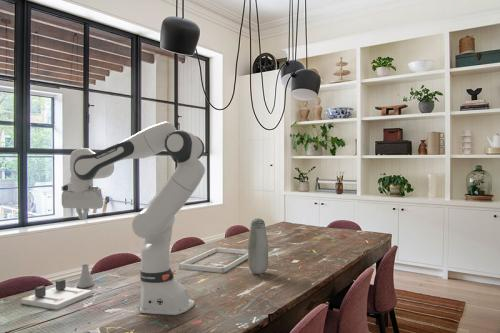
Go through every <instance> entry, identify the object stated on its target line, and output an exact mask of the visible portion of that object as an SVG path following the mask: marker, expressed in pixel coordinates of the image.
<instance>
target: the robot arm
mask: <svg viewBox="0 0 500 333" xmlns="http://www.w3.org/2000/svg"><path fill="white" fill-rule="evenodd" d="M165 150H166V152H167V153H168V155H170V157H171V159H172V160H173V162H175V164H176V163H177V166H176V168H175V170H174V171H173V172H172V174H171V175H170V176H169V178H168V179H167V180H166V182H165V183H164V184H163V186H162V187H161V189H160V190H159V191H158V192H157V193H156V194H155V195H154V196H153V198H151V200H150V201H149V202H148V203H147V204H146V205H145V206H144V207H143V209H141V211H140V212H139V213H138V214H137V215H135V216H134V217H133V220H132V223H131V227H132V231H133V233H134V234H135V235H136V236H137V237H139V238H142V239H144V242H143V245H142V247H141V251H140V253H141V254H140V258H141V259H140V262H141V263H140V264H141V265H140V266H141V268H140V269H141V270H140V276H139V277H140V281H141V285H140V286H141V287H140V295H139V301H138V303H137V308H138V309H139V313H140V314H141V313H142V314H154V315H168V316H170V315H171V316H176V315H180V314H182V313H186V312H188V311H189V310H190V309H192V308H193V307H194V305H195V300H193V299H190V298H189V292H188V290H187V288H186V287H185V286H184V285H183V284H181V283H180V282H179V281H178V280H176V278H175V277H174V276H175V274H176V270H174V271H172V269H171V266H170V265H171V264H170V262H171V261H170V257H171V256H170V251H171V250H170V248H171V247H170V246H171V241H172V234H173V226H174V223H175V219H176V218H175V215H176V214H177V213H179V211H180V210H181V209H182V208H183V207H184V206H185V204H186V203H187V202H188V200H189V199H190V198H191V197H192V195H193V194H194V192H195V191H196V189H197V188H198V186H199V185H200V183H201V181H202V179H203V177H204V175H205V173H206V167H205V165H204V164H203V162H202V161H201V160H200V158H202V157H203V155H204V153H205V143H204V142H203V140H202V139H201V138H200V137H198V136H197V135H195V134H193V133H191V132H188V131H184V130H183V129H181V130H180V129H178V130H177V128H176V127H175V125H174V124H172V123H171V122H169V121H164V122H163V121H162V122H159V123H156V124H154V125H151V126H148V127H146V128H145V129H142V130H141V131H138V132H137V133H135V134H133V135H131V136H130V137H128V138H125V139H124V140H122V141H121V142H118V143H116V144H113V145H112V146H111V145H110V146H108V147H106V148H104V149H102V150H100V151H97V152H94V151H93V150H92V149H90V148H88V147H82V148H76V149H74V150H73V151H71V153H70V157H69V171H70V175H71V176H70V178H69V180H70V182H68V183H66V184H64V185H63V186H61V191H62V192H61V206H62V208H64V209H75V212H76V213H77V215H78V219H79V220H86V219H87V218H88V214H89V211H90V210H98V209H102V208H103V206H104V198H103V193H102V189H101V188H100V187H99V186H94V180H96V179H106V178H108V177H111V176H112V174H113V173H114V170H115V163H117V162H120V161H124V160H130V159H132V160H134V159H135V160H138V159H146V158H149V157H150V158H151V157H152V156H155V155H157V154H159V153H161V152H163V151H165Z"/></svg>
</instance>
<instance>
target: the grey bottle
mask: <svg viewBox="0 0 500 333" xmlns="http://www.w3.org/2000/svg"><path fill="white" fill-rule="evenodd" d="M249 227H250V229H249V234H248V239H247V250H248V259H247V261H248V268H249V271H251V273H252V274H255V275H262V274H264V273H266V272H267V271H268V267H269V239H268V235H267V231H266V230H267V229H266V223H265V221H264V219H261V218H260V217H259V218H254V219H253V220H252V221H251V223H250V226H249Z"/></svg>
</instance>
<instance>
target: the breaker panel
mask: <svg viewBox="0 0 500 333" xmlns="http://www.w3.org/2000/svg"><path fill="white" fill-rule="evenodd" d="M91 296H93V290H90V289H84V288H79V287H70V286H66V288H65V289H62V290H56V286H55V287H51V288H48V289H46V296H43V297H40V298H37V297H35V293H34V294H31V295H28V296H26V297H22V298H21V304H22V305H27V306H32V307H38V308H44V309H50V310H54V311H55V310H56V311H57V310H60V309H63V308H64V307H67V306H69V305H72V304H75V303H76V302H77V303H78V302H79V301H81V300H84V299H86V298H88V297H89V298H90V297H91Z"/></svg>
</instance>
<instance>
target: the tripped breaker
mask: <svg viewBox="0 0 500 333" xmlns="http://www.w3.org/2000/svg"><path fill="white" fill-rule="evenodd" d="M46 290H47V289H46V286H45V285H40V286H37V287H35V288H34V294H35V297H37V298H40V297H43V296H46Z"/></svg>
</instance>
